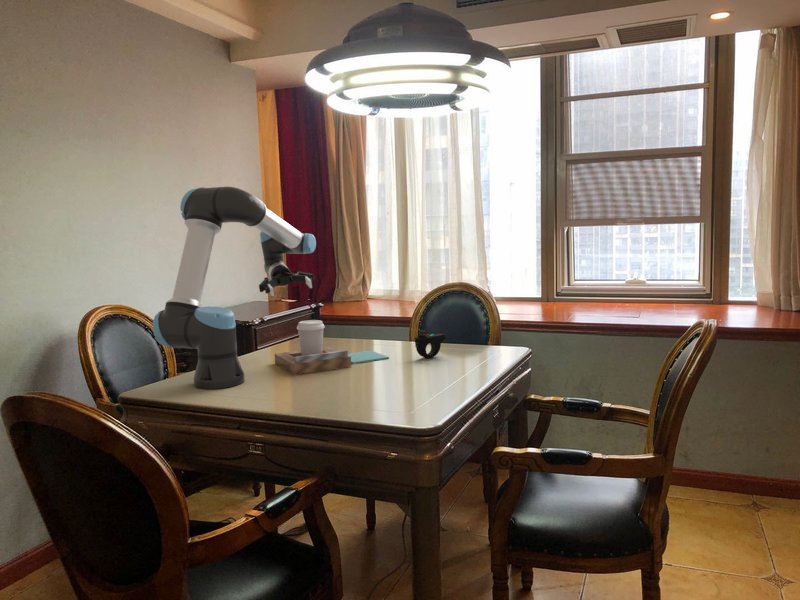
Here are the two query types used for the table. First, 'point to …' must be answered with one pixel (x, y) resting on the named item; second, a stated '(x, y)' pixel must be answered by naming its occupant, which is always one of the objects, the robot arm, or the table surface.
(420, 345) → the controller
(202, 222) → the robot arm
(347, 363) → the cup holder
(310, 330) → the coffee cup
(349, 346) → the table surface
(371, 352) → the pad
